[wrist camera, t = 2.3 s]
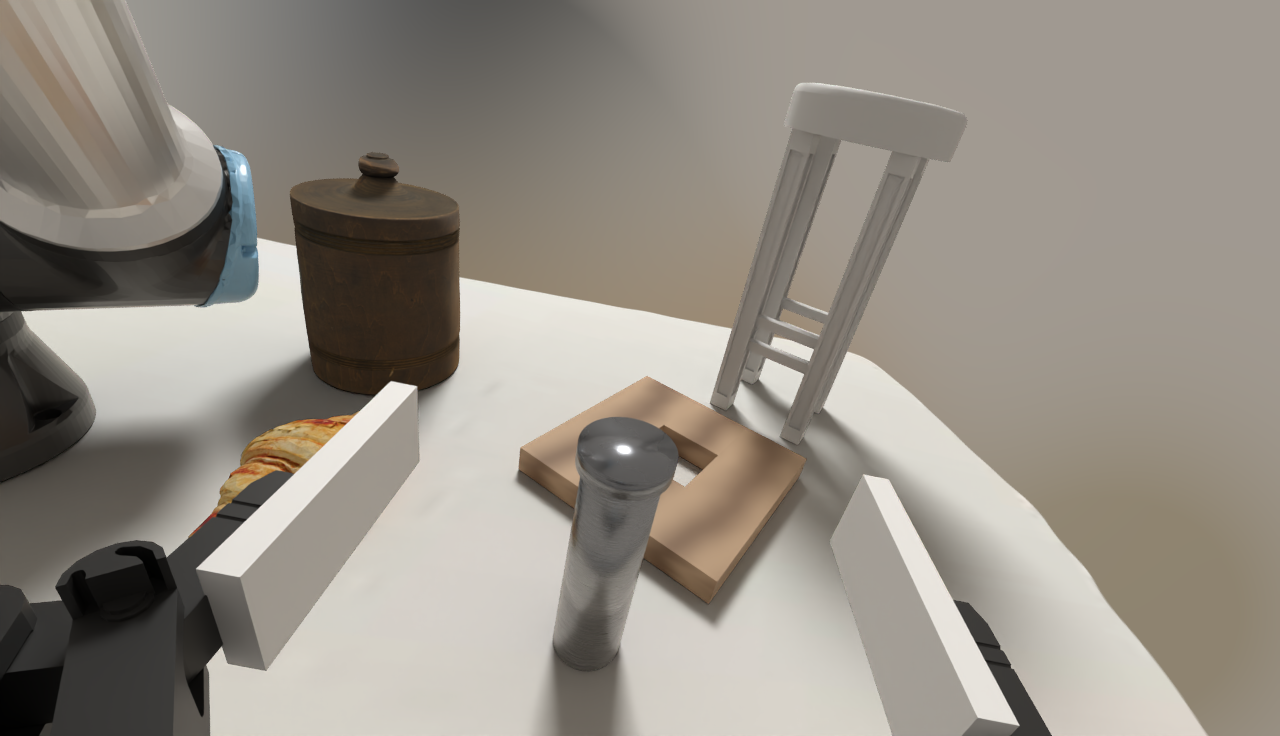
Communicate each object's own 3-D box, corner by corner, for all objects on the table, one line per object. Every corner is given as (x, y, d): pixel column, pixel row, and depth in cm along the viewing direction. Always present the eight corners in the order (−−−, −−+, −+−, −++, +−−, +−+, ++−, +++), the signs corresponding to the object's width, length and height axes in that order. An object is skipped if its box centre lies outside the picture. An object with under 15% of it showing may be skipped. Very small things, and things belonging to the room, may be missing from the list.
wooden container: (389, 319, 66) (379, 136, 56) (485, 357, 62) (494, 168, 52) (277, 363, 54) (237, 137, 43) (388, 414, 50) (374, 180, 39)
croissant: (228, 673, 31) (262, 622, 28) (75, 580, 30) (88, 512, 26) (425, 460, 50) (461, 411, 46) (336, 395, 48) (366, 339, 44)
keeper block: (518, 469, 46) (520, 447, 45) (643, 393, 62) (647, 376, 61) (708, 604, 38) (717, 581, 37) (798, 477, 53) (806, 458, 52)
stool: (736, 362, 74) (822, 91, 57) (842, 408, 68) (972, 120, 51) (687, 402, 62) (777, 73, 45) (810, 462, 56) (967, 108, 39)
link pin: (529, 640, 33) (556, 443, 25) (582, 589, 37) (619, 405, 29) (591, 695, 31) (640, 498, 23) (640, 635, 35) (696, 449, 27)
